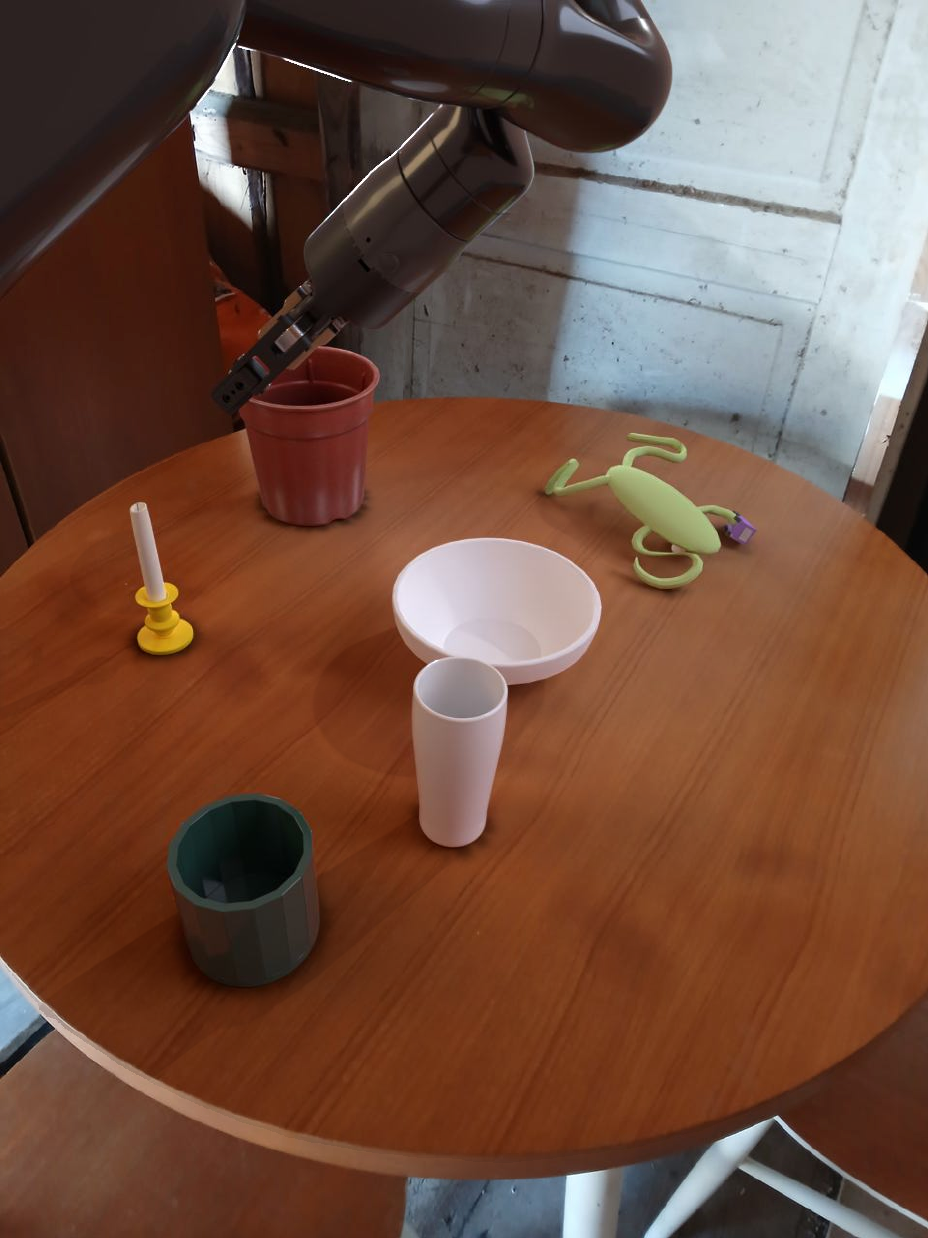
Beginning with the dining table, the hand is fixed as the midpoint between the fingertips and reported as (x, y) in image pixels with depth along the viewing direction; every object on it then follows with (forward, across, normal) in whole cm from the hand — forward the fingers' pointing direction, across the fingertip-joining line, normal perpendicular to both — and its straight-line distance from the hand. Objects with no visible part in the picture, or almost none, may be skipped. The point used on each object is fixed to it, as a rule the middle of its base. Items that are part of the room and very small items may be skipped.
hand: (246, 380), depth 69 cm
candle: (+28, 0, +12) cm, 31 cm away
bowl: (+6, -7, +34) cm, 35 cm away
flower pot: (+26, -28, +15) cm, 41 cm away
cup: (+13, +27, +27) cm, 40 cm away
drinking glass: (+6, +14, +35) cm, 38 cm away
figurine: (-2, -37, +43) cm, 57 cm away
